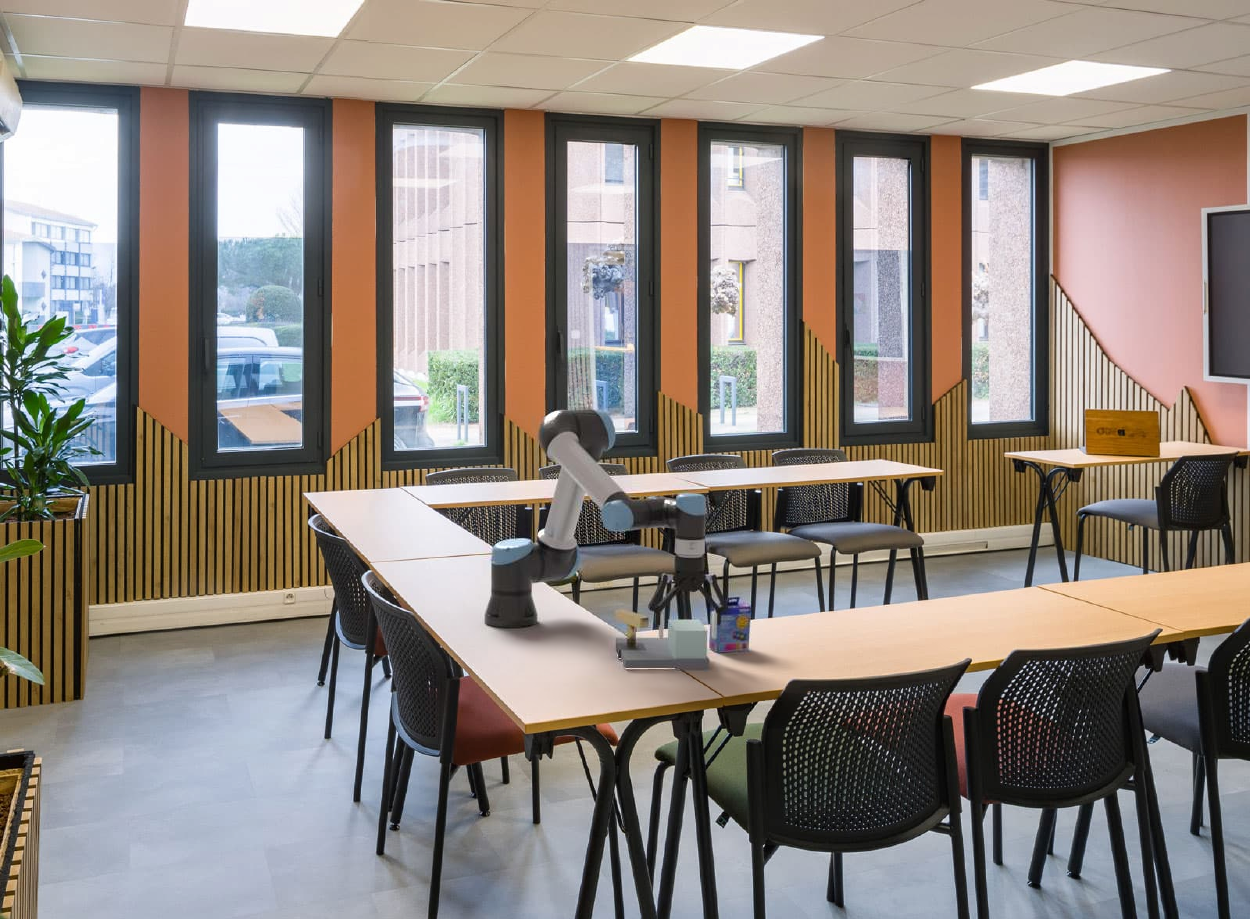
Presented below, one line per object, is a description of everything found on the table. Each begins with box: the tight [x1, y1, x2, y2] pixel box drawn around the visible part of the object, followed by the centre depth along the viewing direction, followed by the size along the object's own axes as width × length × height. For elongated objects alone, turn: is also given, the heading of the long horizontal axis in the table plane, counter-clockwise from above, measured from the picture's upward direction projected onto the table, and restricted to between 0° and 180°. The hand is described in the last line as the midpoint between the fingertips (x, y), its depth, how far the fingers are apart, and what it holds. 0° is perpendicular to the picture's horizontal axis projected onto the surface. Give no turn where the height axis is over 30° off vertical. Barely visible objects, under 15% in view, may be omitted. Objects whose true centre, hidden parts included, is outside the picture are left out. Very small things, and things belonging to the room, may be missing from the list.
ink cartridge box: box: [708, 596, 752, 654], centre depth 309 cm, size 10×6×14 cm, turn 113°
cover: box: [667, 619, 709, 659], centre depth 295 cm, size 12×8×7 cm, turn 7°
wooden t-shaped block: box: [614, 608, 650, 646], centre depth 299 cm, size 3×11×8 cm, turn 35°
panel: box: [615, 637, 710, 671], centre depth 299 cm, size 22×22×3 cm
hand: (687, 638), depth 295 cm, fingers open, 13 cm apart
